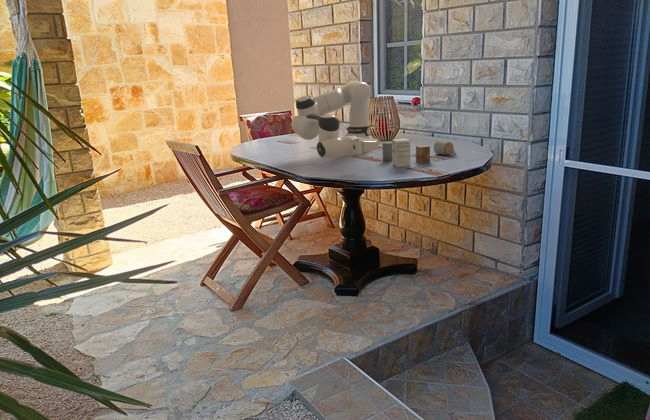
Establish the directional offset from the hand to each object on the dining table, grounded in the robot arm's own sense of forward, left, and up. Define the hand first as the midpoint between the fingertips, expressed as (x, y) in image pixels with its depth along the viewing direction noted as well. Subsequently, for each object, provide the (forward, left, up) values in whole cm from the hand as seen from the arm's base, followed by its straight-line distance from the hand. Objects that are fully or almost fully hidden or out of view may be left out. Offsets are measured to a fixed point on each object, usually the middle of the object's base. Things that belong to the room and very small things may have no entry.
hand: (378, 141), depth 238 cm
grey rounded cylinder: (-5, +19, -13) cm, 24 cm away
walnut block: (+14, +20, -13) cm, 28 cm away
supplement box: (+7, +10, -13) cm, 18 cm away
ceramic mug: (+17, +42, -14) cm, 47 cm away
